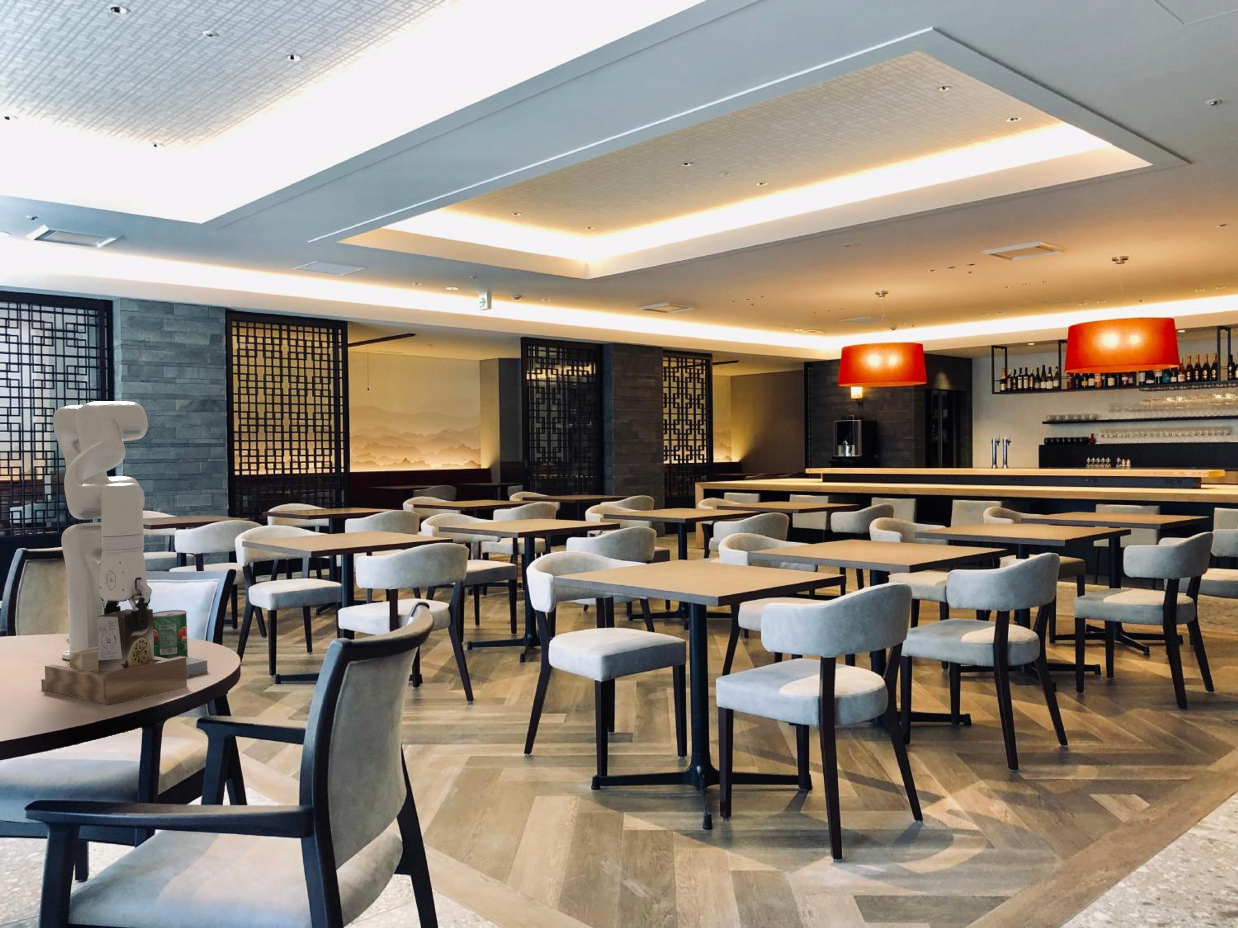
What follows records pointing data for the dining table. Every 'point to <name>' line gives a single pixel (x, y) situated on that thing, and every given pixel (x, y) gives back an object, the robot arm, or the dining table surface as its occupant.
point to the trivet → (194, 665)
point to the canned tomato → (170, 633)
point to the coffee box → (123, 642)
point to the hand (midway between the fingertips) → (126, 628)
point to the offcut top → (84, 659)
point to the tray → (117, 681)
